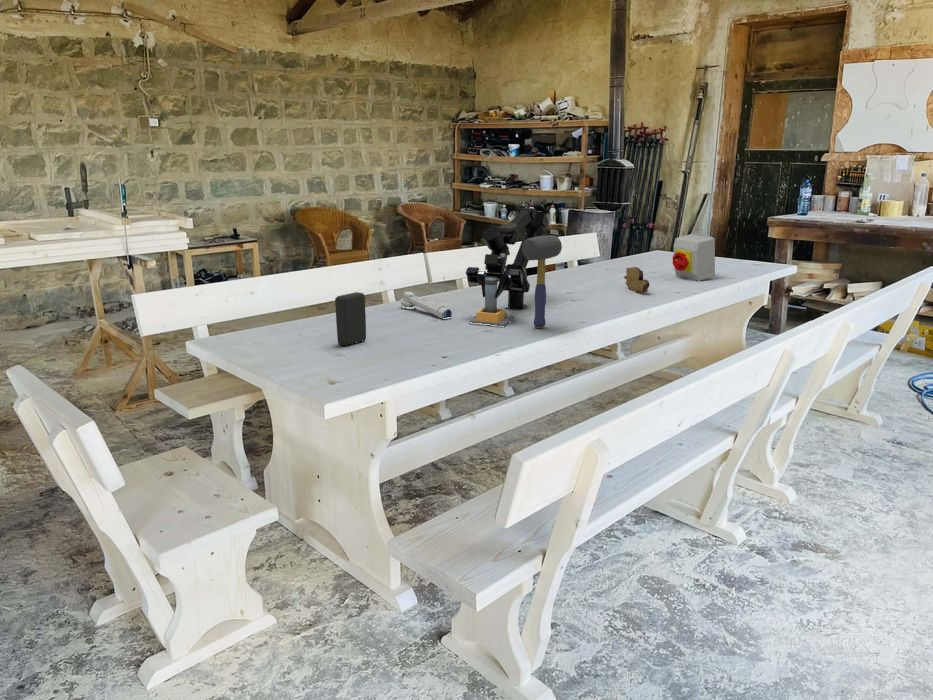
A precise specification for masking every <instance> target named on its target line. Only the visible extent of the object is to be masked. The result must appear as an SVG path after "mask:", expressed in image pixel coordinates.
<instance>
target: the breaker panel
mask: <svg viewBox="0 0 933 700" xmlns="http://www.w3.org/2000/svg"><path fill="white" fill-rule="evenodd" d="M505 309H506V308H505ZM505 309H504V308H497V313H486V312H485V306H484V307H483V308H481V309H479V310H477V311H476V313H475V317H473V318H472V319H470V320H469V323H470V322H472V323H482V324H490V325H497V326H505V325H506V324H508V323H509V322H510V321H512V320H513V319H514V318H515V319H516V315H510V311H508V310H507V311H506V310H505ZM515 319H514V320H515ZM514 320H513V321H514ZM513 321H512V322H513ZM510 323H511V322H510ZM510 323H509V324H510ZM509 324H508V325H509ZM505 327H506V326H505Z"/></svg>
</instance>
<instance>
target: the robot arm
mask: <svg viewBox="0 0 933 700" xmlns="http://www.w3.org/2000/svg"><path fill="white" fill-rule="evenodd" d="M549 221H550V220H549V217H548V216H547V215H546V214H544V213H543V212H540V211H538V210H536V208H534V207H523V208H521V209H520V211H519V213H518V214H516V216H514V217H513V218H512V219H511V221H510V222H509V223H505V224H502V225H500V226H498V224H491V225H490V226H489V227H488V228H485V229H484V231H482V234H481V237H482V239H483V241H484V243H485V245H486V247H487V249H489V250H490V252H491V253H489V254H488V253H487V254H486V253H485V255H484V263H483V264H484V265H485V266H484V267H485V270H486V271H485V270H481V269H480V268H479V267H476V266H473V267H472V266H468V267H467V268H466V271H465V274H466V278H467V281H468V282H469V283H473V284H474V283H475V284H478V285H479V286H480V287H481V292H482V293H481V294H482V297H483V298H485V277H487V276H495V277H497V280H499V282H498V284H497V292H496V298H497V299H498V298H499V297H500V296H501V294H502V293H503V292H504V291H505V292H506V291H507V293H508V294H507V298H508V300H507V305H508V307H510V308H509V309H511V308H519V309H518V310H523V309H524V308H525V306H526V307H527V304H526V303H525V304H524V302H525V301H524V299H525V293H529V291H530V289H531V288H530V287H531V285H530V282H529V280H528V274H527V270H526V269H527V266H528V263H529V261H530V260H528V259H526V258H525V257H524V255H523V252H522V245H523V243H524V241H525V240H527V239H529V238H533V237H538V236H543V234H544V233H545V232H546V230H547V228H548V226H549V223H550V222H549ZM523 229H524V230H525V233H524V235H523V238H522V240H521V242H520V245H519V248H518V251H517V252H516V255H515V257H514V260H513V263H512V264H511V263H508V264H507V260H508V256H510V255H511V253H510V248H509V246H508V245H515V244H516V243H517V242H518V241H519V239H520V233H521V232H522V231H523ZM522 308H523V309H522Z"/></svg>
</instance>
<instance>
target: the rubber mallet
mask: <svg viewBox="0 0 933 700" xmlns="http://www.w3.org/2000/svg"><path fill="white" fill-rule="evenodd" d="M562 248H563V245H562V241H561V240H560V238H559V237H558V236H556V235H553V234H552V235H540V236H538V237H533V238H529V239H527V240H525V241H524V243H523V245H522V252H523V255H524V257H525V258H526V259H528V260H529V261H537V266H536V267H537V269H536V271H537V272H536V285H535V289H534V317H533V325H534V328H535V327H536V328H535V329H543V327H544V328H545V326H546V324H547V323H546V303H547V286H546V283H545V282H546V260H548V259H552V258H554V257H555V258H556V257H558V256H559V255H560V254H561V252H562Z"/></svg>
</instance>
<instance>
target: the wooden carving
mask: <svg viewBox="0 0 933 700" xmlns="http://www.w3.org/2000/svg"><path fill="white" fill-rule="evenodd" d="M625 273H626V275H625V276H623V278H624V280H626V282H625V285H626V286H627V288H628V289H629V290H630V291H631V290H632V292H633V291H635V292H634V293H637V292H640V293H642V294H643V293H644V294H645V293H647V292H648V289H649V288H650V285H651V284H650V281H649V280H648V279H644V273H643V270H641V268H639V267H638V266H632V267H626V269H625Z"/></svg>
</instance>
